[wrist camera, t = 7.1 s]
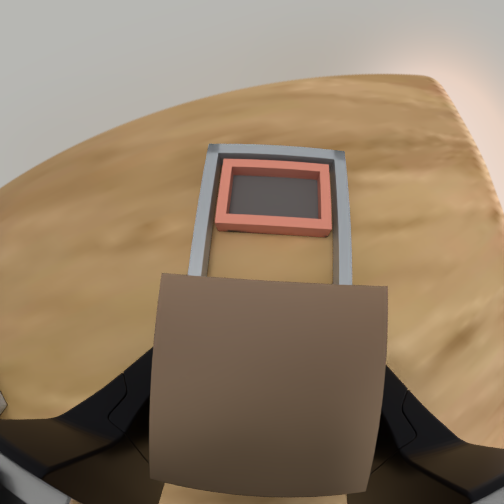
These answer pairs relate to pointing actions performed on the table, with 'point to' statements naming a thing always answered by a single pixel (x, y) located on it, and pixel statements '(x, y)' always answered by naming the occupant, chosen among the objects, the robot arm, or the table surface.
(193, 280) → the walnut block
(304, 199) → the rectangular frame
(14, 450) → the robot arm
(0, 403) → the coffee box
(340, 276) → the u-shaped frame
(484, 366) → the table surface
